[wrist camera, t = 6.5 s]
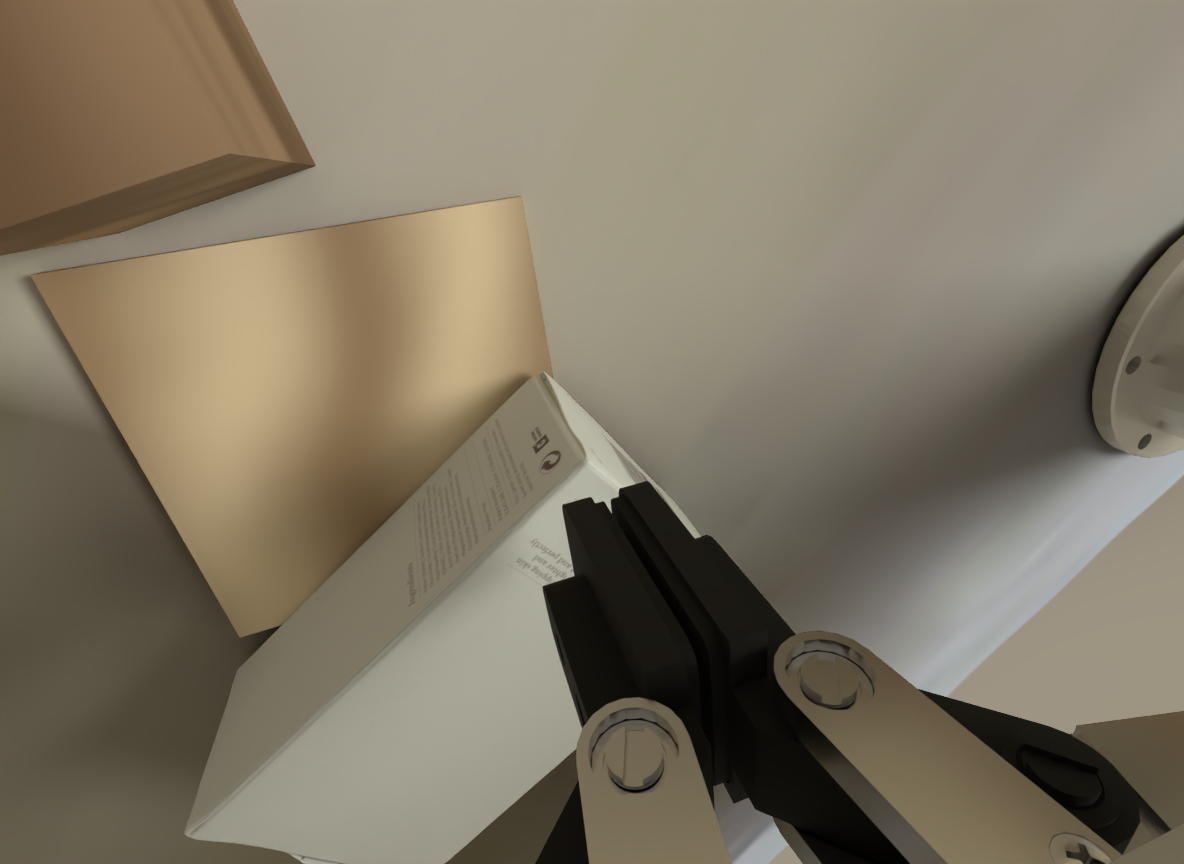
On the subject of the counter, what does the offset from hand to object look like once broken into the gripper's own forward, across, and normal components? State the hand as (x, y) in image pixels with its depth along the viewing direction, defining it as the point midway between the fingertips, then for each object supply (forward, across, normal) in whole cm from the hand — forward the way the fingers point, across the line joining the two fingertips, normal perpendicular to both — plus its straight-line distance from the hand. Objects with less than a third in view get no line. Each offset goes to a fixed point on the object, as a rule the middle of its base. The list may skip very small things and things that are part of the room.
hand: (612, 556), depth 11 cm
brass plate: (+9, +5, 0) cm, 10 cm away
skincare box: (+6, -3, +2) cm, 7 cm away
